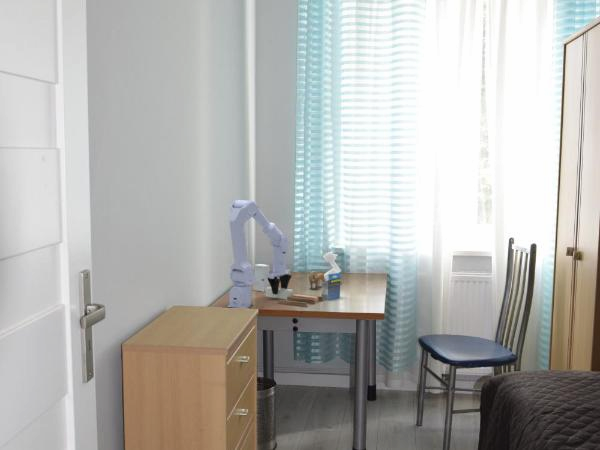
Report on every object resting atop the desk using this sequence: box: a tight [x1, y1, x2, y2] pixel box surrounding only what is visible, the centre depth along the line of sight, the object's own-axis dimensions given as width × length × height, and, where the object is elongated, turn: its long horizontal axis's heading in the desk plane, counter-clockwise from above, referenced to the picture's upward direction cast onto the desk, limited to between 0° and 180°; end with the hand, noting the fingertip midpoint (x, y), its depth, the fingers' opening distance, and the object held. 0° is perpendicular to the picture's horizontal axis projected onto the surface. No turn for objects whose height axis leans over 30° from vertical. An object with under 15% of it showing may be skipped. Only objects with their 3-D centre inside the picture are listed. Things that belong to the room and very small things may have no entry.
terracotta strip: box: [292, 293, 318, 302], centre depth 308 cm, size 3×11×2 cm, turn 61°
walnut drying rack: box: [276, 293, 326, 308], centre depth 305 cm, size 17×14×3 cm
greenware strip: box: [265, 286, 294, 300], centre depth 315 cm, size 4×12×5 cm, turn 60°
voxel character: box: [322, 251, 342, 283], centre depth 356 cm, size 7×12×15 cm
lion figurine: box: [308, 270, 326, 290], centre depth 344 cm, size 15×5×9 cm, turn 158°
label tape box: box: [320, 272, 342, 301], centre depth 313 cm, size 9×4×12 cm, turn 141°
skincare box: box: [253, 263, 270, 293], centre depth 335 cm, size 6×4×12 cm
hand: (279, 292), depth 315 cm, fingers open, 7 cm apart
